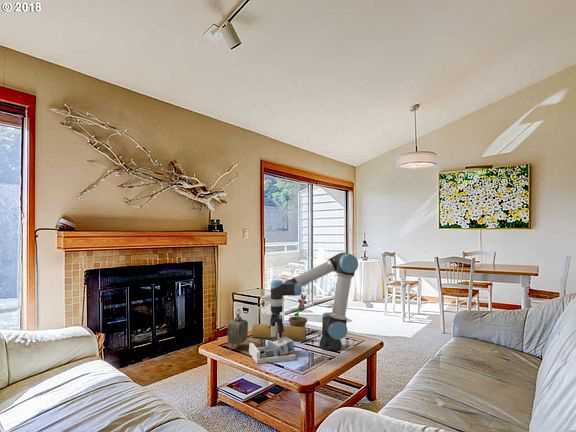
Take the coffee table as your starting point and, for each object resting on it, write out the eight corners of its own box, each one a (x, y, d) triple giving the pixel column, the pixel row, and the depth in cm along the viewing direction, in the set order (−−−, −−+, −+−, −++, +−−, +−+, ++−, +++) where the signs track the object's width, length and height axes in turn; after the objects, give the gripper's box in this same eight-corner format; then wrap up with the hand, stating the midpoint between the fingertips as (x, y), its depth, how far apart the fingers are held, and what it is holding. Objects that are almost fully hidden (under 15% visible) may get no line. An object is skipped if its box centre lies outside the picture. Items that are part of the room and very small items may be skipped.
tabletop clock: (235, 343, 240) (236, 306, 241) (247, 344, 238) (248, 307, 239) (227, 350, 226) (228, 311, 227) (240, 352, 224) (241, 312, 225)
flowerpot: (300, 336, 260) (301, 295, 262) (284, 332, 268) (285, 293, 269) (310, 332, 272) (311, 292, 274) (294, 328, 280) (295, 290, 281)
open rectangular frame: (284, 348, 233) (284, 339, 233) (295, 359, 214) (295, 349, 214) (248, 351, 225) (249, 342, 225) (257, 363, 206) (257, 353, 206)
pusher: (269, 350, 228) (269, 340, 228) (278, 359, 212) (278, 349, 212) (261, 351, 226) (261, 341, 226) (269, 360, 210) (269, 350, 210)
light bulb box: (280, 356, 216) (295, 350, 222) (278, 346, 216) (293, 340, 221) (272, 352, 226) (287, 346, 231) (271, 341, 226) (285, 336, 231)
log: (306, 338, 256) (306, 324, 256) (304, 342, 246) (305, 328, 247) (254, 334, 262) (255, 321, 262) (251, 338, 253) (251, 324, 253)
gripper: (265, 301, 232) (265, 334, 231) (277, 310, 208) (277, 346, 208) (276, 301, 234) (276, 333, 234) (289, 309, 211) (289, 344, 210)
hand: (276, 339), depth 221 cm, fingers open, 13 cm apart
